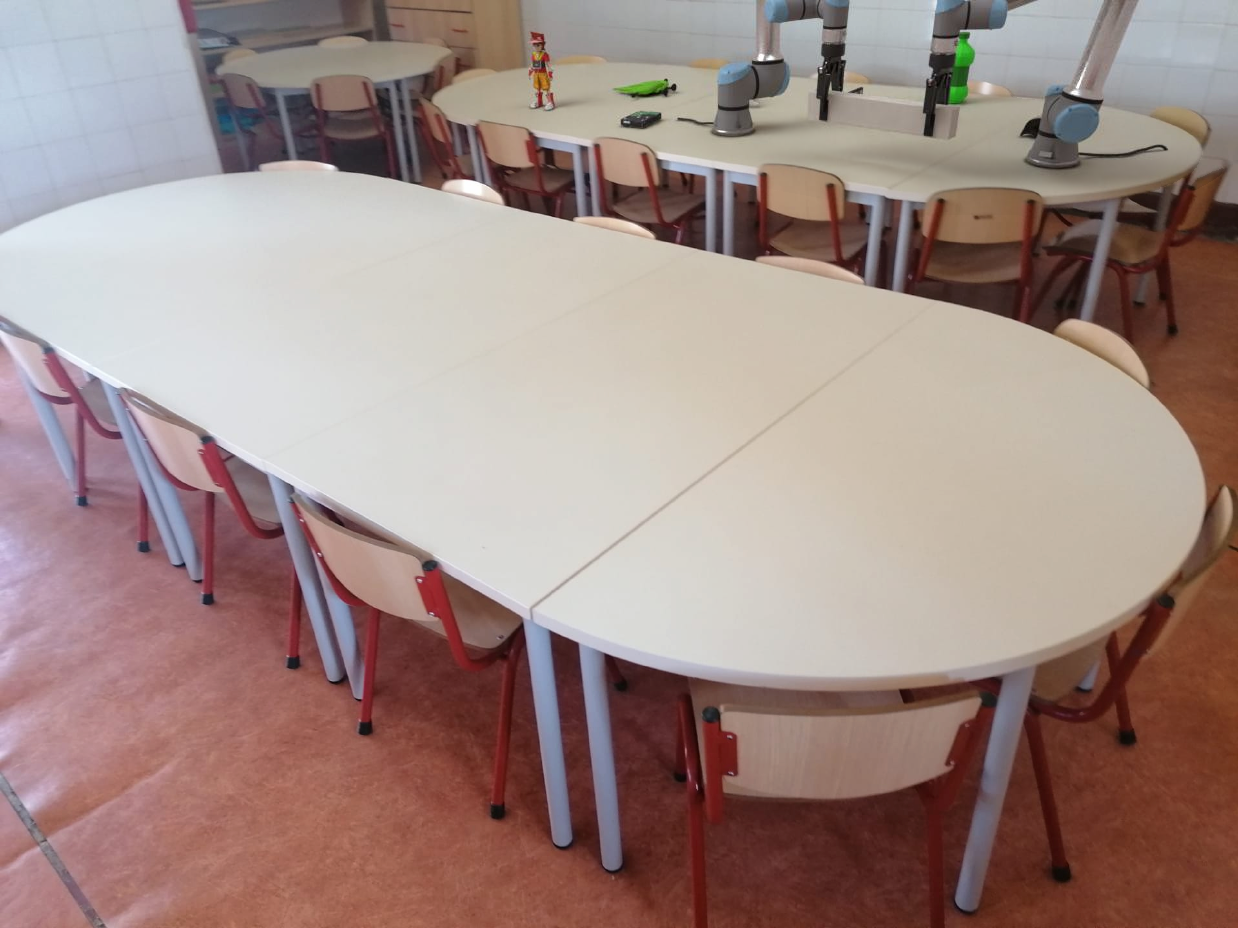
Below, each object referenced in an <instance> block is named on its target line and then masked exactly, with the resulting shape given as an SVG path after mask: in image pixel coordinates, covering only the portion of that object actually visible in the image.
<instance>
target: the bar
mask: <svg viewBox="0 0 1238 928" xmlns="http://www.w3.org/2000/svg"><path fill="white" fill-rule="evenodd" d="M848 92H849V91H847V92H846V91H842V92H840V91H832V90H831V89H829V93H828V98H827V100H829V103H828V116H827V121H824V120H819V112H820V99H817V98H816V94H817V88H815V89H812V90H810V91H808V92H807V93H808V95H807V97H808V98H807V110H806V119H807V120H810V121H817V122H823V123H831V124H837V125H844V126H851V127H857V128H863V129H871V130H877V131H883V132H890V133H891V132H892V133H898V134H904V135H911V136H917V137H924V138H931V139H935V140H936V139H937V140H943V141H944V140H945V141H949V140H952V139H953V138H955V137H956V135H957V130H958V123H959V117H960V109H961V106H957V105H951V104H948V105H942V104H936V108H935V112H934V114H936V115H935V122H934V129H933V136H932V137H930V136H923V134H924V126H925V118H926V114H923V106H924V101H918V100H910V99H903V98H902V99H901V98H894V97H885V96H878V95H870V94H869V95H868V94H864V93H863V94H855V93H848Z"/></svg>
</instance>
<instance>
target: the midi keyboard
mask: <svg viewBox="0 0 1238 928" xmlns="http://www.w3.org/2000/svg"><path fill="white" fill-rule="evenodd" d="M847 92H848V93H855V94H863V95H864V86H860V87H857V88H855V89H851V90H850V91H847Z"/></svg>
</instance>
